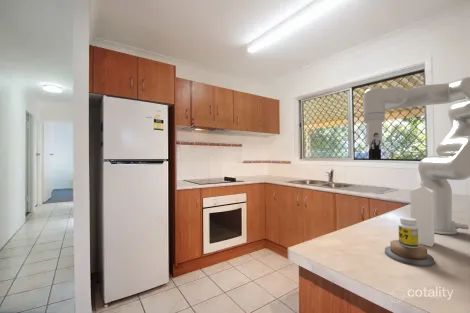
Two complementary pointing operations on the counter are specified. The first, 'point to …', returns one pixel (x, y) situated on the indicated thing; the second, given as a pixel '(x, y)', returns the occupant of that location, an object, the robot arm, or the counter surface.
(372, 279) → the counter surface
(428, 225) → the milk
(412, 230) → the supplement bottle
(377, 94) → the robot arm
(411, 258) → the round stand
